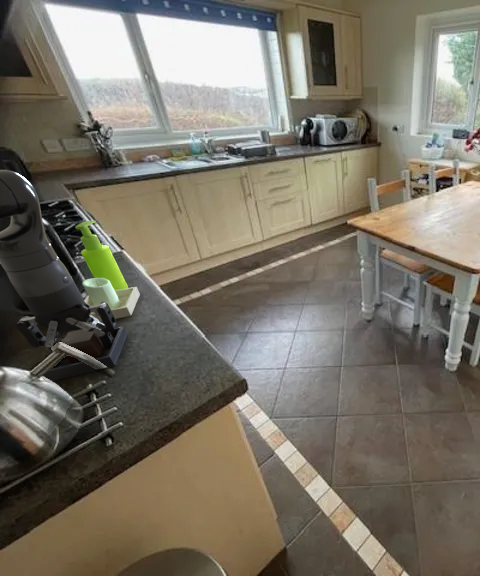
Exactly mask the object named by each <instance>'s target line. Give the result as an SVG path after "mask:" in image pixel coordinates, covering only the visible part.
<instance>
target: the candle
mask: <svg viewBox="0 0 480 576" xmlns="http://www.w3.org/2000/svg"><path fill="white" fill-rule="evenodd" d="M81 284H82V286H83V288H84V290H85V292H86V294H87V295H89V297H90V299H91V300H92V302H93V304H94V305H99V304H100V303H101V302H107V303H108V305H109V307H110V309H115V308H118V307H119V306H120V305H121V303H120V301H119V299H118V297H117V295H116V293H115V291H114V289H113V287H112V285H111V283H110V281H109V280H107V279H104V278H94V277H91V278H86V279H84V280H83V281H82V283H81Z"/></svg>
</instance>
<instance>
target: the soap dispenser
mask: <svg viewBox="0 0 480 576" xmlns="http://www.w3.org/2000/svg"><path fill="white" fill-rule="evenodd" d="M96 223H97V221H96V220H86V221H82V222H80V223H79V224H77V225H76V226H75V227H74V228H75V230H80V232H81V234H82V236H81V237H80V241H81V243H82V245H83V247H84V248H83V249H82V250H81V251H80V254H81V256H82V258H83V260H84V261H85V263H86V265H87V267H88V269H89V271H90V273H91V275H92V276H93V278H104V279H107V280H109V281H110V283H111V285H112V287H113V289H114V291H115V290H120V289H126V288H129V286H128V284H127V282H126V280H125V278H124V275H123V273H122V271H121V269H120V267H119V265H118V264H117V261H116V259H115V257H114V254H113V253H112V251H111V249H110V246H109V245H107V244H101V241H100V239H99V237H98V235H97V234H95V233H94V234H93V233H92V232H91V230H90V228H89V226H91V225H93V224H96Z"/></svg>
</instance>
